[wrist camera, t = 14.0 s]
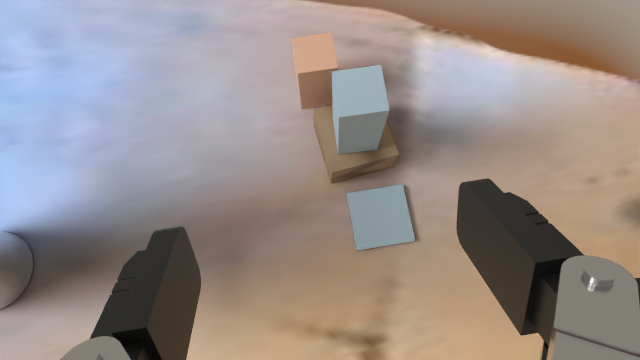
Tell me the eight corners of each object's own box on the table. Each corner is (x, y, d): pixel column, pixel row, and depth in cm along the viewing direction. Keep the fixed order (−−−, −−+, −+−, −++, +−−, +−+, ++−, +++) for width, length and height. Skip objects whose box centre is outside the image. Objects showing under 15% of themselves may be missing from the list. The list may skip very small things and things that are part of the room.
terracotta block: (301, 109, 53) (297, 73, 44) (296, 78, 54) (291, 38, 45) (335, 104, 53) (338, 67, 44) (329, 74, 54) (331, 32, 45)
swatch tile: (356, 250, 48) (357, 250, 47) (346, 194, 50) (346, 193, 49) (414, 241, 48) (415, 240, 48) (401, 185, 50) (402, 184, 49)
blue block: (338, 154, 46) (338, 117, 35) (332, 118, 47) (331, 71, 36) (376, 149, 46) (389, 110, 35) (370, 113, 47) (381, 64, 36)
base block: (331, 183, 50) (332, 172, 46) (314, 126, 52) (313, 110, 48) (391, 167, 51) (399, 154, 46) (372, 111, 53) (377, 93, 48)
